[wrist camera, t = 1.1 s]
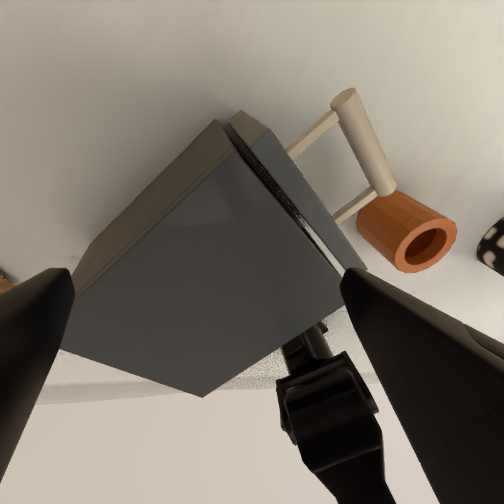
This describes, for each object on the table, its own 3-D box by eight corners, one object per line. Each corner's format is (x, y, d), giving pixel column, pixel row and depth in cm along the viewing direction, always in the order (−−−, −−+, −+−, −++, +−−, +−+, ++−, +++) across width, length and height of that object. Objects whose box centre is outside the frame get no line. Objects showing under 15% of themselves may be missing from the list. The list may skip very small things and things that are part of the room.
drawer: (299, 51, 16) (370, 36, 10) (366, 181, 22) (436, 223, 16) (114, 233, 20) (80, 304, 14) (214, 299, 26) (221, 368, 20)
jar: (412, 215, 26) (462, 246, 22) (368, 246, 28) (405, 282, 23) (397, 178, 24) (450, 204, 19) (348, 215, 25) (386, 248, 20)
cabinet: (215, 118, 18) (234, 150, 10) (305, 228, 25) (357, 297, 17) (89, 244, 21) (32, 340, 14) (199, 309, 28) (202, 398, 20)
